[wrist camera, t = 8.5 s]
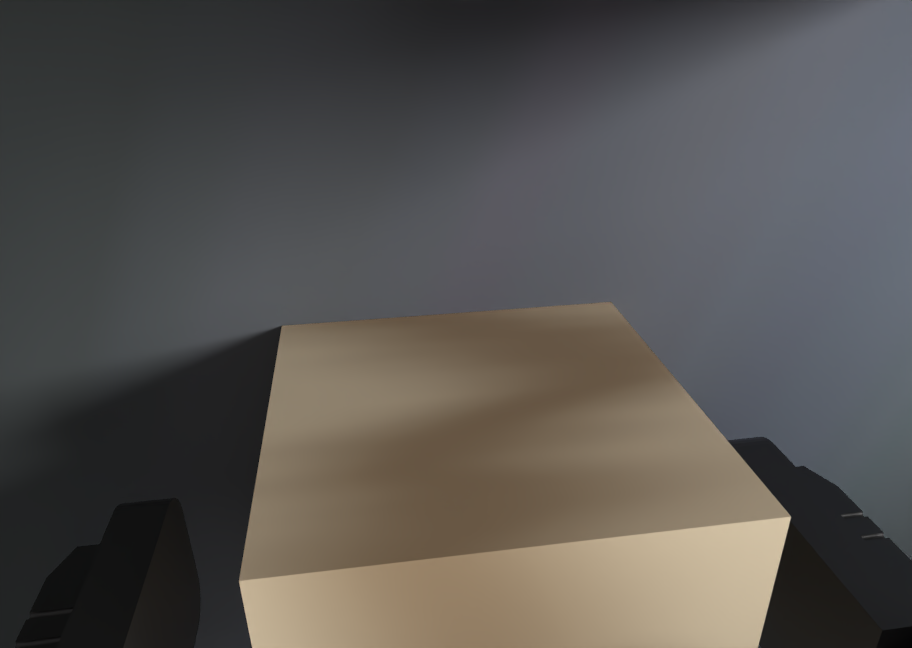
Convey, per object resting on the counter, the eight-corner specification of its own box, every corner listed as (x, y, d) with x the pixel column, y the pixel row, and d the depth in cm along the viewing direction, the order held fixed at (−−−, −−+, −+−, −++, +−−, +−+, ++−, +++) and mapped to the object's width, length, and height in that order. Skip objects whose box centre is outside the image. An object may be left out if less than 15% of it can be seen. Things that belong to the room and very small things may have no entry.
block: (609, 299, 11) (791, 517, 7) (586, 543, 13) (711, 830, 9) (282, 323, 10) (238, 581, 6) (315, 575, 13) (302, 900, 8)
